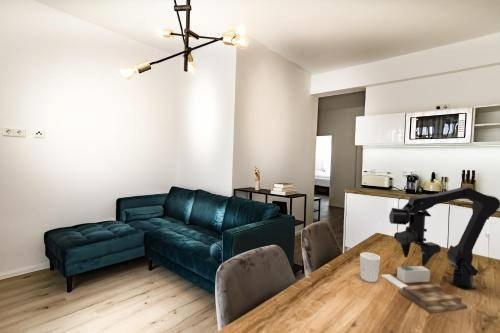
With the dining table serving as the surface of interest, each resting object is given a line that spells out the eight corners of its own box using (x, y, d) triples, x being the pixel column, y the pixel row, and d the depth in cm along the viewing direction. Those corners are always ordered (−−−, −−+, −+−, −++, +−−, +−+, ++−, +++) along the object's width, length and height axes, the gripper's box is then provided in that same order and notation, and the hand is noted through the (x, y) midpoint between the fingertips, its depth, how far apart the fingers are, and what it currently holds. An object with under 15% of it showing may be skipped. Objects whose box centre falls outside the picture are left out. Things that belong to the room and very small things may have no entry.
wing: (389, 276, 118) (389, 274, 118) (410, 290, 106) (410, 287, 106) (381, 277, 117) (381, 274, 117) (401, 291, 105) (402, 288, 105)
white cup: (367, 283, 109) (368, 260, 109) (355, 275, 117) (356, 253, 116) (383, 282, 111) (384, 258, 111) (370, 273, 119) (371, 251, 118)
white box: (420, 277, 118) (421, 265, 118) (429, 281, 113) (430, 269, 113) (396, 278, 116) (397, 266, 116) (404, 283, 111) (405, 270, 111)
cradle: (431, 288, 107) (431, 281, 107) (466, 308, 93) (467, 300, 93) (398, 291, 103) (398, 284, 103) (430, 313, 90) (430, 304, 90)
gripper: (384, 220, 121) (382, 254, 121) (419, 232, 103) (417, 272, 103) (405, 219, 123) (403, 252, 124) (442, 231, 105) (440, 270, 106)
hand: (414, 261), depth 114 cm, fingers open, 9 cm apart
